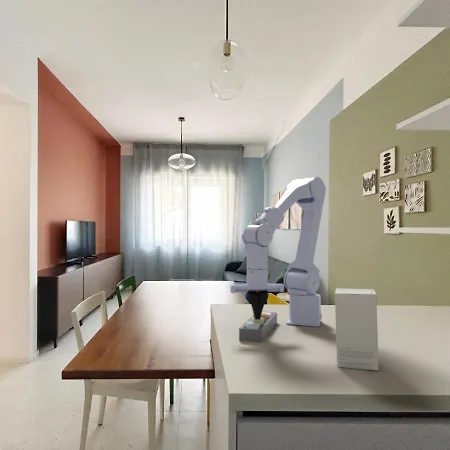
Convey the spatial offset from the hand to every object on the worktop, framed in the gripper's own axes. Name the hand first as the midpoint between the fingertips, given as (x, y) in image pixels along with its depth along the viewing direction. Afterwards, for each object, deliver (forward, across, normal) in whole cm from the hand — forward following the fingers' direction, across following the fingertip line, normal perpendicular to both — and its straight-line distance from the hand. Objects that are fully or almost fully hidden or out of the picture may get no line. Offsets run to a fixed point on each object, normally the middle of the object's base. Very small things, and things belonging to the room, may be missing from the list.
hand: (257, 318), depth 97 cm
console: (+4, -1, -2) cm, 5 cm away
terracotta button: (+3, -2, -4) cm, 6 cm away
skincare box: (+4, -16, +24) cm, 29 cm away
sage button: (+3, 0, 0) cm, 3 cm away
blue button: (+3, +2, +4) cm, 6 cm away
